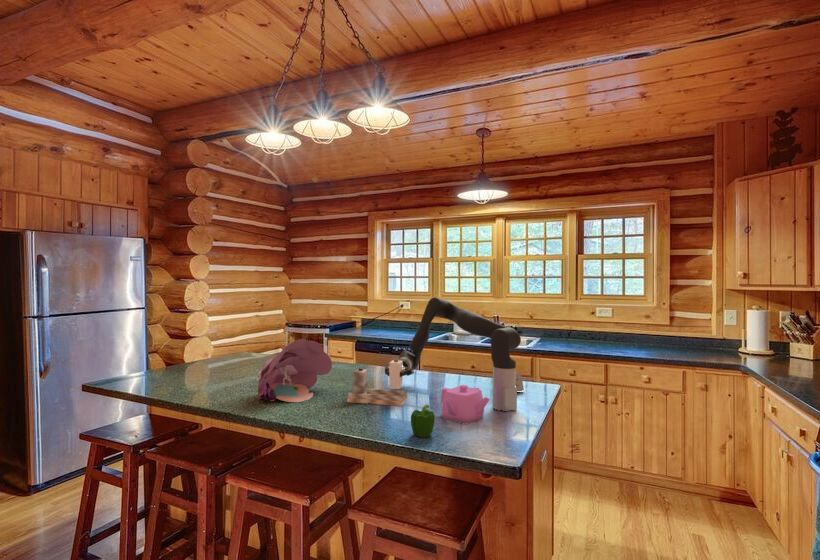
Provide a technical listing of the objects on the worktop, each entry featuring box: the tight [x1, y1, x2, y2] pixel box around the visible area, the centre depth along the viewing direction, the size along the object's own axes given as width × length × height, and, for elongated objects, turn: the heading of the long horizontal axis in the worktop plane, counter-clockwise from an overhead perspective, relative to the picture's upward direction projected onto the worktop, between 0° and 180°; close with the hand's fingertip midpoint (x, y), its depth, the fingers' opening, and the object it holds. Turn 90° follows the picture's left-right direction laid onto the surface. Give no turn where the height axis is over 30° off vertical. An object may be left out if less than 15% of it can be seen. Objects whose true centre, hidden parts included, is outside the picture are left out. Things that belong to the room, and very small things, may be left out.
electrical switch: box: [516, 371, 525, 391], centre depth 205 cm, size 9×5×9 cm, turn 116°
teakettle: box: [440, 384, 490, 425], centre depth 166 cm, size 17×17×12 cm
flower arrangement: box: [257, 338, 333, 403], centre depth 192 cm, size 35×24×28 cm
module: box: [388, 358, 403, 390], centre depth 187 cm, size 4×6×12 cm
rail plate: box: [346, 367, 408, 407], centre depth 188 cm, size 24×12×14 cm, turn 80°
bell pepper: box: [410, 404, 436, 438], centre depth 146 cm, size 8×8×10 cm
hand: (394, 374), depth 184 cm, fingers closed on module, 4 cm apart
